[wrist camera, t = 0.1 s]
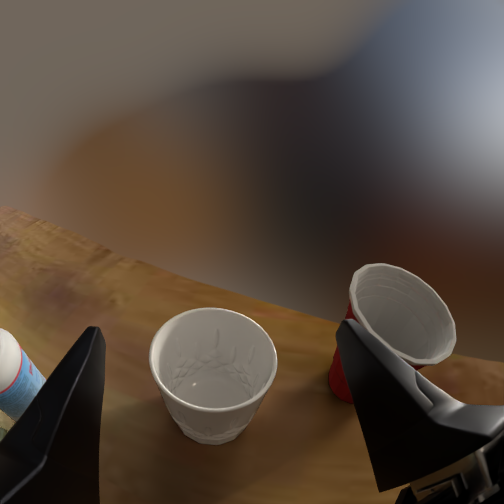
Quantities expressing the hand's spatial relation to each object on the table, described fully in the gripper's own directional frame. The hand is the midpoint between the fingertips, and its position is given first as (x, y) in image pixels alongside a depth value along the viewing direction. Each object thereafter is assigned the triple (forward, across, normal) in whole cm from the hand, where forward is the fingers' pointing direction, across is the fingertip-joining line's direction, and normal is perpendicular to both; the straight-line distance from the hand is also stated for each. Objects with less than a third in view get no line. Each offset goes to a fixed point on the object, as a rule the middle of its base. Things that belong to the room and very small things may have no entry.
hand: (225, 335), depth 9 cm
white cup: (+4, 0, +17) cm, 17 cm away
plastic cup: (+5, -15, +17) cm, 23 cm away
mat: (-11, +28, +17) cm, 34 cm away
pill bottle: (+3, +18, +17) cm, 25 cm away
